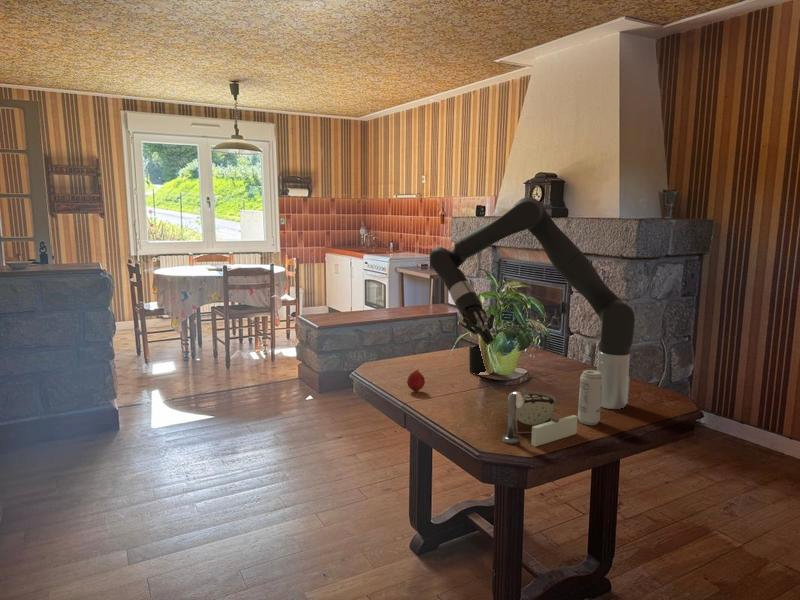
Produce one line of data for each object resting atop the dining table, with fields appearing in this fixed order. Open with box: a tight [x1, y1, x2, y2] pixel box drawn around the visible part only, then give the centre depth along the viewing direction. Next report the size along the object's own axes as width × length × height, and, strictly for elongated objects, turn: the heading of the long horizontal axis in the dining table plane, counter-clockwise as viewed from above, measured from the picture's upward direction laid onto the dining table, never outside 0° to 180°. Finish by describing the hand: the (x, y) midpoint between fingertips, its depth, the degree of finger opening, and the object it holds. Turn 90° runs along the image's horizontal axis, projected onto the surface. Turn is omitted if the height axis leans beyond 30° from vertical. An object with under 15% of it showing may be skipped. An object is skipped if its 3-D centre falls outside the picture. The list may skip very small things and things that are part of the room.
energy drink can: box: [577, 369, 603, 426], centre depth 158 cm, size 6×6×15 cm
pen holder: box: [468, 344, 486, 374], centre depth 206 cm, size 9×9×10 cm
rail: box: [530, 414, 578, 448], centre depth 146 cm, size 16×1×6 cm, turn 123°
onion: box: [406, 368, 426, 393], centre depth 183 cm, size 6×6×8 cm
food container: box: [514, 390, 557, 434], centre depth 153 cm, size 12×6×10 cm, turn 96°
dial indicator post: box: [502, 391, 524, 445], centre depth 144 cm, size 4×4×13 cm
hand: (490, 342), depth 167 cm, fingers closed
